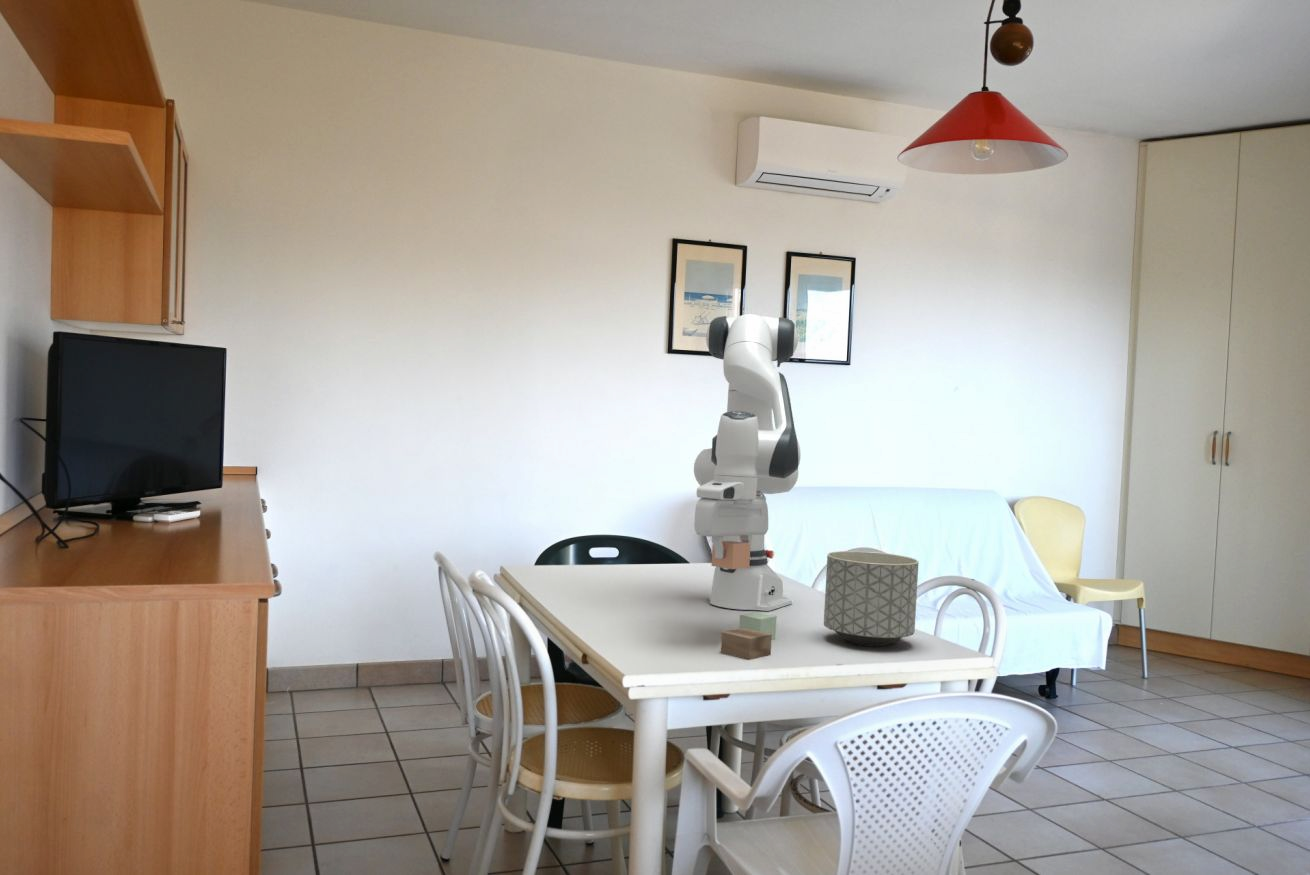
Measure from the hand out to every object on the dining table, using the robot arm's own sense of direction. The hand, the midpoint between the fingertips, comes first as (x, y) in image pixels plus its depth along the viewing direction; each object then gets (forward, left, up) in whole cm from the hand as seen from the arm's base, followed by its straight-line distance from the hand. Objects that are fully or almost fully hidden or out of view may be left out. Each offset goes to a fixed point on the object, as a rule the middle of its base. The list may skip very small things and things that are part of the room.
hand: (731, 557), depth 204 cm
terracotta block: (0, 0, -2) cm, 2 cm away
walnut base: (+4, +8, -18) cm, 20 cm away
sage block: (-9, +1, -18) cm, 20 cm away
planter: (-27, +17, -18) cm, 37 cm away
